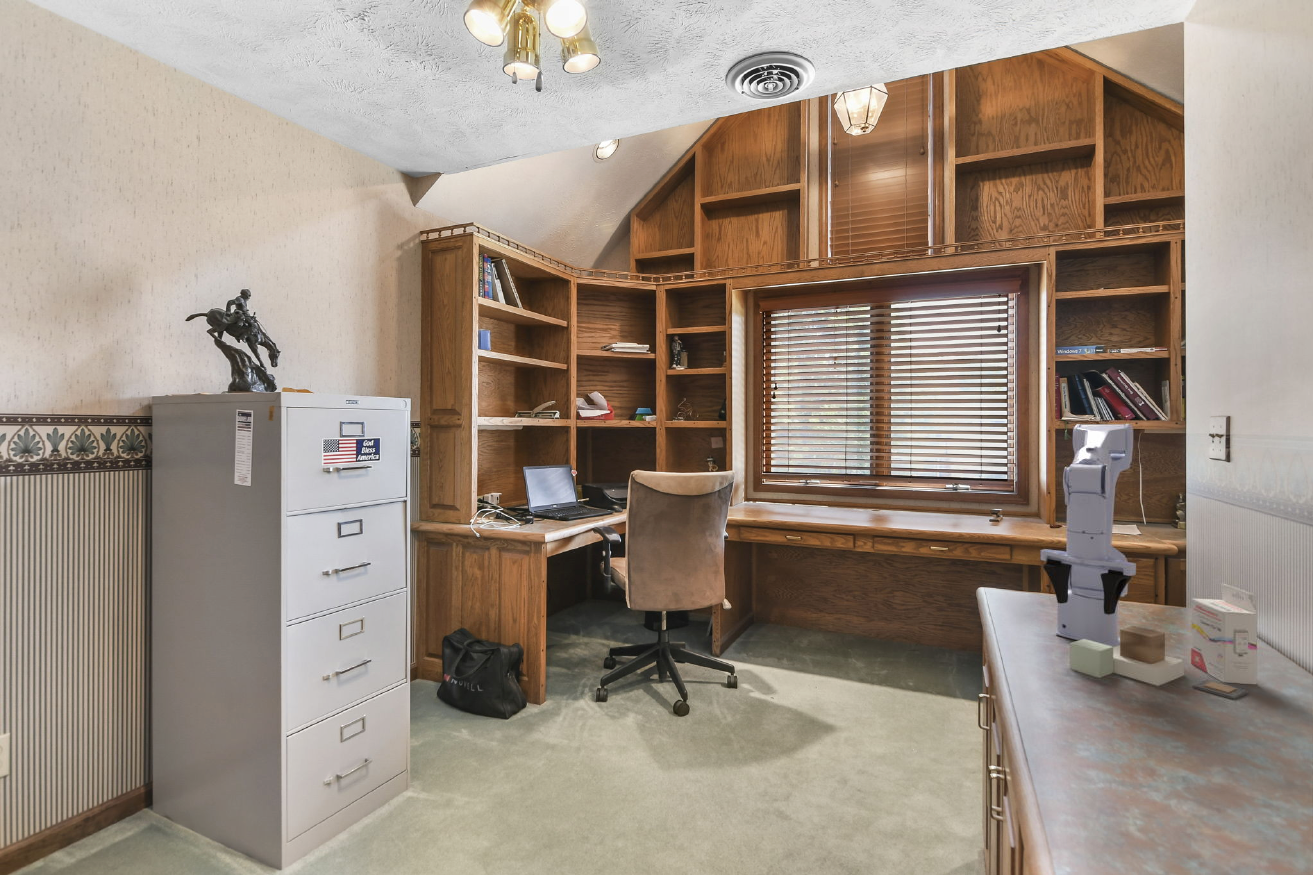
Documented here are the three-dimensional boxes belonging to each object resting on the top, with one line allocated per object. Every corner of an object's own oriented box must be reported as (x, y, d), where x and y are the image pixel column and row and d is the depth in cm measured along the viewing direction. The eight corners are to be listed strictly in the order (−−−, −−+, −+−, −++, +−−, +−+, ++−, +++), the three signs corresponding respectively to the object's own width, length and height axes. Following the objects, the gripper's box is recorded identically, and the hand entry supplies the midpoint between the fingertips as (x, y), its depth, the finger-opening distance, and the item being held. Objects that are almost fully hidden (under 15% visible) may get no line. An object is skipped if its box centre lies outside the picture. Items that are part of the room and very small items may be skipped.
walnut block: (1120, 655, 104) (1120, 629, 104) (1133, 651, 107) (1133, 625, 107) (1151, 664, 100) (1151, 636, 101) (1164, 659, 103) (1164, 632, 103)
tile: (1192, 687, 97) (1192, 683, 97) (1206, 681, 100) (1206, 678, 100) (1234, 699, 93) (1234, 695, 93) (1247, 693, 95) (1247, 689, 95)
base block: (1095, 670, 106) (1095, 652, 106) (1121, 660, 110) (1121, 644, 110) (1158, 688, 98) (1158, 670, 98) (1183, 678, 102) (1183, 660, 102)
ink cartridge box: (1188, 663, 108) (1189, 580, 108) (1221, 666, 107) (1222, 582, 107) (1222, 683, 99) (1223, 592, 99) (1258, 685, 98) (1259, 594, 98)
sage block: (1069, 669, 105) (1070, 642, 105) (1083, 664, 107) (1084, 638, 107) (1099, 678, 101) (1099, 651, 101) (1113, 673, 103) (1113, 646, 103)
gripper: (1031, 527, 113) (1030, 600, 113) (1121, 539, 100) (1120, 622, 100) (1052, 525, 116) (1052, 596, 117) (1142, 536, 104) (1141, 616, 104)
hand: (1085, 607), depth 109 cm, fingers open, 7 cm apart
